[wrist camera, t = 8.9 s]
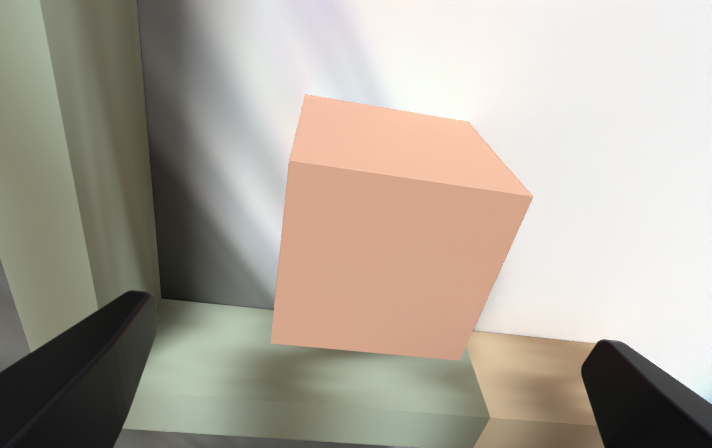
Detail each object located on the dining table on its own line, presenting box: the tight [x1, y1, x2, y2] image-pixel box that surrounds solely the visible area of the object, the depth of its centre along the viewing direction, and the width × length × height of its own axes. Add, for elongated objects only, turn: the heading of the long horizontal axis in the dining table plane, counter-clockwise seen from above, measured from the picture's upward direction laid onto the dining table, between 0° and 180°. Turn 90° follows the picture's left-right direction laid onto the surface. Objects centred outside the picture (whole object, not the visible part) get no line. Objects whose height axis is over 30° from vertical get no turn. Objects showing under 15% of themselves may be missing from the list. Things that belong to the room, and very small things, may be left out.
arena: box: [0, 0, 604, 448], centre depth 11 cm, size 21×21×4 cm
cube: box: [271, 94, 533, 361], centre depth 12 cm, size 5×5×5 cm
